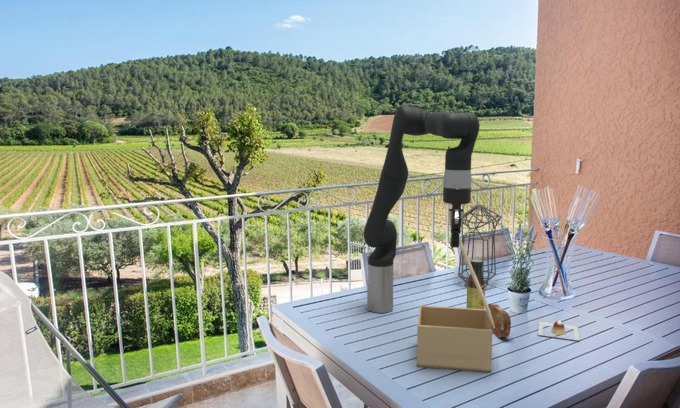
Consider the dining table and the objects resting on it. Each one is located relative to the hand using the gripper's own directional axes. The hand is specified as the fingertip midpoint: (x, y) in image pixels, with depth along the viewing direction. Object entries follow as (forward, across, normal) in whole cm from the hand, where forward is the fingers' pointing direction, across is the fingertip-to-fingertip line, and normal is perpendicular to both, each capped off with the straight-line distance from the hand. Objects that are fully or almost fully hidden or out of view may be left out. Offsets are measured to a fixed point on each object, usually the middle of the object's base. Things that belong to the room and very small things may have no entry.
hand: (454, 246), depth 143 cm
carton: (+33, 0, +1) cm, 33 cm away
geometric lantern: (+33, -71, +12) cm, 79 cm away
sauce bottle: (+33, -36, +9) cm, 50 cm away
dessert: (+33, -25, +35) cm, 54 cm away
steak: (+33, -21, +15) cm, 42 cm away
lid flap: (+10, 0, +6) cm, 11 cm away
